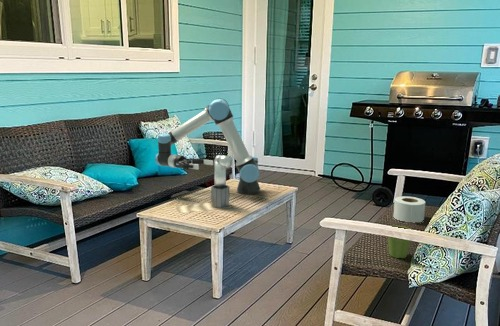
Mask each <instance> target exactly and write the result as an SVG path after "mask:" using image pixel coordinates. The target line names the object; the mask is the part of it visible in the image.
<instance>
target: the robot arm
mask: <svg viewBox="0 0 500 326" xmlns="http://www.w3.org/2000/svg"><path fill="white" fill-rule="evenodd" d="M233 119H234V115H233V113H232V110H231V109H230V105H229V103H228V102H227V100H225V99H224V98H219V97H218V98H216V99H213V101H211V102H210V104H208V105H207V106H206V107H204V110H202V111H200V112H199V113H198V114H195V116H193V117H191V118H189V119H188V120H187V121H185V122H183V123H182V124H180V125H179V126H177V127H175V128H174V129H172V130H171V131H169V132H168V133H160V134H158V135H157V146H158V152H157V154H155V158H154V162H155V164H156V165H158V166H162V167H170V168H173V169H175V168H177V169H183V170H185V169H186V170H189V169H192V170H197V171H198V170H199V169H200V166H199V165H207V166H214V160H211V159H210V160H209V159H206V158H205V157H203V158H192V157H191V158H186V156H184V155H179V154H172V146H173V145H174V144H176V143H177V142H179V141H181V140H183V139H184V138H185V137H186V136H188V135H190V134H192V133H193V132H195V131H197V130H198V129H200V128H201V127H203V126H204V125H206V124H208V123H209V122H211V121H213V122H214V123H215V125H216V126H218V127H219V128H220V131H221V132H222V134H223V136H224V138H225V141H226V142H227V144H228V146H229V147H228V148H229V149H230V151H231V152H232V155H233V156H234V160H236V162H235V166H236V168H237V170H238V173H239V181H238V183H237V187H236V192H237V193H238V194H241V195H247V196H249V195H251V196H252V195H257V194H260V193H261V187H260V184H259V181H258V180H259V179H258V178H259V176H260V169H259V158H258V157H256V156H252V155H250V154H249V152H248V150H247V148H246V146H245V145H246V144H244V141H243V139H242V137H241V135H240V133H239V131H238V129H237V126H236V125H235V123H234V121H233Z"/></svg>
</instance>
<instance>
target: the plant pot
mask: <svg viewBox="0 0 500 326" xmlns="http://www.w3.org/2000/svg"><path fill="white" fill-rule="evenodd" d="M391 226H392V227H398V228H404V229H411V230H413V229H412V228H409V227H407V226H404V225H403V226H402V225H391ZM411 242H412V240H411V241H407V240H402V239H397V238H392V237H388V236H387V244H388V245H387V246H388V254H389V256H390V257H393V258H395V259H406V258H407V257H408V253H409V249H410V246H411Z"/></svg>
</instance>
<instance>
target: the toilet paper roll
mask: <svg viewBox="0 0 500 326" xmlns="http://www.w3.org/2000/svg"><path fill="white" fill-rule="evenodd" d="M393 204H394V205H393V216H392V217H394V218H395V219H397V220H400V221H405V222H413V223H415V222H422V221H423V220H424V221H425V212H426V211H425V210H426V204H427V203H426V201H425V200H424V199H422V198H418V197H414V196H404V195H402V196H397V197H395V198H394V203H393ZM394 218H393V219H394ZM395 219H394V220H395ZM424 221H423V222H424ZM423 222H422V223H423Z"/></svg>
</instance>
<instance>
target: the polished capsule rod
mask: <svg viewBox="0 0 500 326" xmlns="http://www.w3.org/2000/svg"><path fill="white" fill-rule="evenodd" d="M232 165H233V158H232V156H230V155H224V154H218V155H216V156H215V158H214V160H213V166H214V167H213V169H214V179H213V180H214V185H215V188H218V189H222V188H226V185H227V169H228V168H229V169H230V168H231V167H232Z"/></svg>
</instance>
